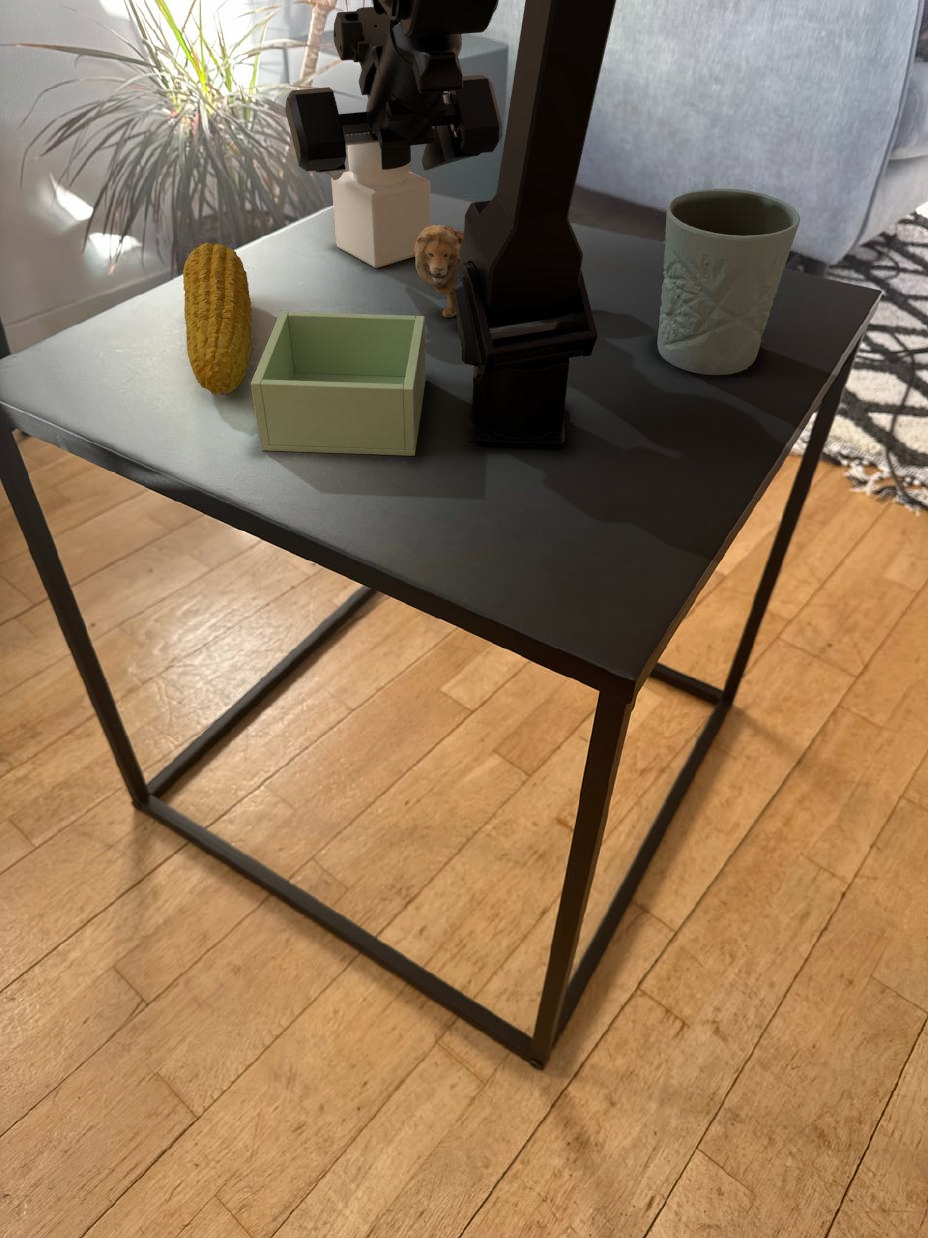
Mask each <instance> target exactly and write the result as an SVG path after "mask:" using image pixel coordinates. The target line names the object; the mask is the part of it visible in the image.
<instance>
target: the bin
mask: <svg viewBox="0 0 928 1238" xmlns="http://www.w3.org/2000/svg"><path fill="white" fill-rule="evenodd" d="M263 350H264V351H263V353H262V355H261V357H260V361H259V362H258V365H257V366H256V367H257V368H256V371H255V372H254V375H253V377H252V379H251V382H250V388H251V395H252V401H253V407H254V414H255V420H256V428H257V433H258V441H259V444H260V450H261V451H266V452H267V451H268V452H269V451H270V452H271V451H272V452H296V453H297V452H299V453H323V454H324V453H325V454H350V455H351V454H353V455H356V454H357V455H381V456H382V455H383V456H406V457H407V456H408V457H409V456H410V457H411V456H412V457H414V456H416V449H417V443H418V437H419V430H420V429H419V428H420V422H421V413H422V409H423V400H424V394H425V386H426V381H427V373H426V370H427V369H426V367H427V366H426V365H427V364H426V317H425V316H424V315H405V314H404V315H402V314H401V315H400V314H371V313H344V312H343V313H342V312H341V313H340V312H338V313H337V312H313V311H312V312H310V311H304V312H303V311H282V310H281V311H280V312H279V314H278V316H277V319H276V321H275V323H274V326H273V328H272V331H271V333H270V335H269V338H268V340H267V343H266V346H265V348H264V349H263Z"/></svg>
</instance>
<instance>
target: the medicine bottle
mask: <svg viewBox="0 0 928 1238" xmlns="http://www.w3.org/2000/svg"><path fill="white" fill-rule="evenodd" d="M364 134H365V133H364ZM351 135H352V134H351ZM355 135H356V134H355ZM346 147H347V160H348V171H344V173H343V174H342V176H341V177H340V178H339V179H338V180H333V179H332V177H331V179H330V181H331V194H332V204H333V205H332V206H333V217H334V229H335V230H334V232H335V245H336V246H337V248H339V249H340V250H342V251H344V252H346V253H348V254H350V255H351V256H353V257H355V258H356V259H358V260H360V261H362V262H364V263H366V264H367V265H369V266H371V267H373V268H375V269H380V268H381V267H385V266H388V265H392V264H395V263H399V262H402V261H405V260H408V259H410V258H415V255H414V248H415V245H416V241H417V238H418V236H419V235H420V233H421V232H422V231H423V230H424V229H425V228H426V227H431V226H432V224H431V221H432V219H431V218H432V216H431V215H432V213H431V181H430V180H429V179H428V178H426V177H424V176H421V175H419V174H417V173H415V172H412V171H411V170H412V148H411V147H412V146H402V147H392V148H383V149H380V145H379V142H377V143H367V144H357V145H346Z"/></svg>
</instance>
